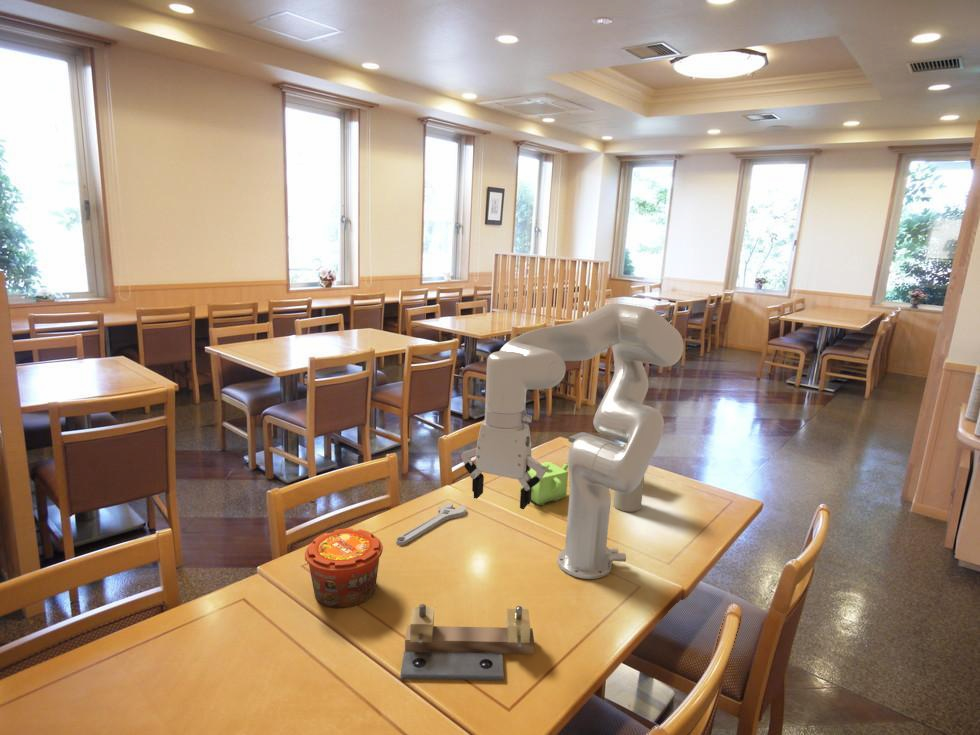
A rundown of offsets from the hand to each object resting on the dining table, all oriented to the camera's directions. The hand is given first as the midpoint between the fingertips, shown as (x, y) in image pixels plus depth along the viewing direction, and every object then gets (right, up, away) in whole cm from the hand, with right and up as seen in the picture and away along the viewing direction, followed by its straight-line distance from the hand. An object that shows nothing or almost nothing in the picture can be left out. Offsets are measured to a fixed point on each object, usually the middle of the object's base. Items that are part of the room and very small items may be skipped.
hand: (500, 500), depth 115 cm
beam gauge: (-6, -27, -4) cm, 28 cm away
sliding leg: (+3, -25, -4) cm, 25 cm away
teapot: (+13, -13, +60) cm, 62 cm away
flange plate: (-9, -28, -9) cm, 31 cm away
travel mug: (+38, -15, +56) cm, 69 cm away
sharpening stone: (+35, -10, +77) cm, 85 cm away
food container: (-33, -22, +12) cm, 42 cm away
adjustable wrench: (-18, -16, +42) cm, 48 cm away
